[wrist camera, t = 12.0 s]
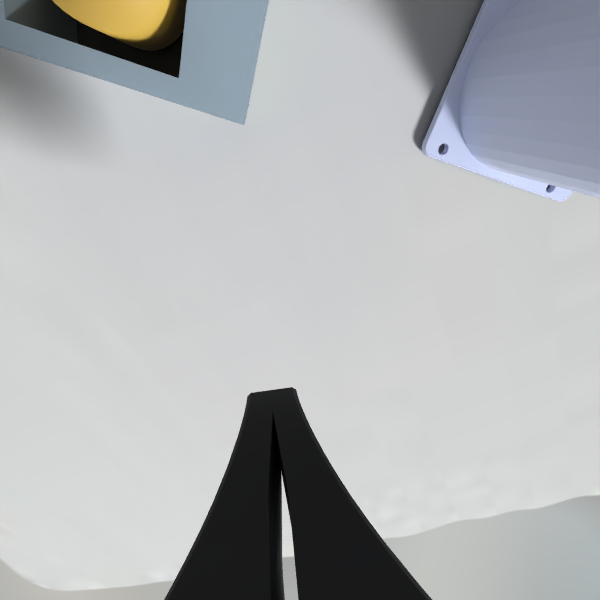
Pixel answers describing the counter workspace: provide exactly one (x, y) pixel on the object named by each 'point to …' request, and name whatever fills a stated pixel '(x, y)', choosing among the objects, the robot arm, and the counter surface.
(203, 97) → the cabinet
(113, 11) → the button
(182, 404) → the counter surface
